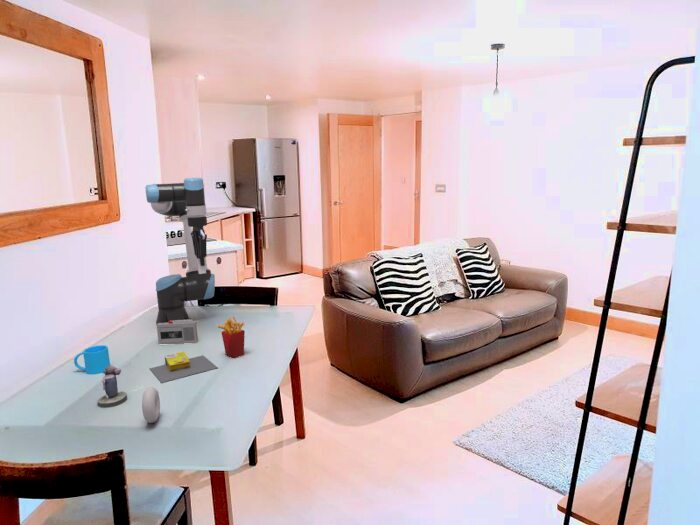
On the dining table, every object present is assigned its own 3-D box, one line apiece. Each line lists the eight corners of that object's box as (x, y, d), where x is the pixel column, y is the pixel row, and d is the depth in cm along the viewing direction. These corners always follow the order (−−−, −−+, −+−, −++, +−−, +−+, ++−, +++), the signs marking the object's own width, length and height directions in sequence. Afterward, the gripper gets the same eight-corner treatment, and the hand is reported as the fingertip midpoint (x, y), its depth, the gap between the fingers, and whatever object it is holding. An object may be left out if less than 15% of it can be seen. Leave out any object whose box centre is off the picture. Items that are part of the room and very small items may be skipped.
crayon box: (165, 362, 188) (169, 372, 178) (164, 355, 187) (168, 365, 177) (185, 358, 191) (190, 368, 181) (184, 351, 191) (190, 360, 180)
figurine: (121, 393, 163) (117, 358, 161) (131, 401, 157) (126, 365, 155) (94, 401, 158) (89, 366, 156) (102, 410, 152) (97, 373, 149)
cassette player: (158, 345, 208) (156, 322, 206) (160, 343, 211) (158, 320, 209) (196, 343, 209) (194, 320, 207) (198, 341, 212) (195, 318, 210)
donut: (150, 413, 148) (146, 382, 146) (162, 412, 149) (158, 380, 147) (143, 430, 139) (139, 397, 137) (156, 428, 139) (152, 395, 137)
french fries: (247, 354, 193) (244, 317, 190) (229, 361, 187) (225, 323, 185) (234, 349, 199) (231, 313, 196) (216, 356, 193) (212, 318, 191)
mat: (149, 369, 183) (149, 368, 183) (203, 355, 194) (203, 355, 194) (161, 383, 170) (161, 382, 170) (217, 368, 181) (217, 367, 181)
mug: (113, 364, 189) (110, 344, 187) (106, 373, 181) (103, 352, 179) (79, 368, 187) (76, 347, 185) (71, 376, 179) (68, 355, 177)
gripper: (182, 216, 205) (188, 272, 209) (192, 218, 194) (198, 277, 198) (200, 214, 209) (205, 269, 213) (211, 216, 198) (216, 274, 203)
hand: (202, 273), depth 206 cm, fingers closed
